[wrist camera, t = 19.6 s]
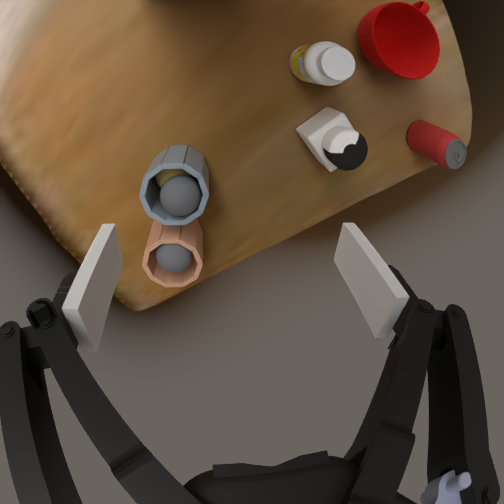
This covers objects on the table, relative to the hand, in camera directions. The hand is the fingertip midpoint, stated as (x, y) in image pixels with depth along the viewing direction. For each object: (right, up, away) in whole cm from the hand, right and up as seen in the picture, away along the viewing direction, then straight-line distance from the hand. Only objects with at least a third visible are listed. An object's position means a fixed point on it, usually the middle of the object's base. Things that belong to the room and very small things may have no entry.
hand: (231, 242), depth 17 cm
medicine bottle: (+13, +20, +31) cm, 39 cm away
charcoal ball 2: (-12, -1, +34) cm, 36 cm away
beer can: (+34, +23, +33) cm, 52 cm away
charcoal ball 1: (-11, +10, +26) cm, 29 cm away
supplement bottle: (+10, +30, +24) cm, 39 cm away
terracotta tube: (-13, +3, +38) cm, 41 cm away
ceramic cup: (+24, +38, +21) cm, 49 cm away
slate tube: (-11, +13, +32) cm, 36 cm away
